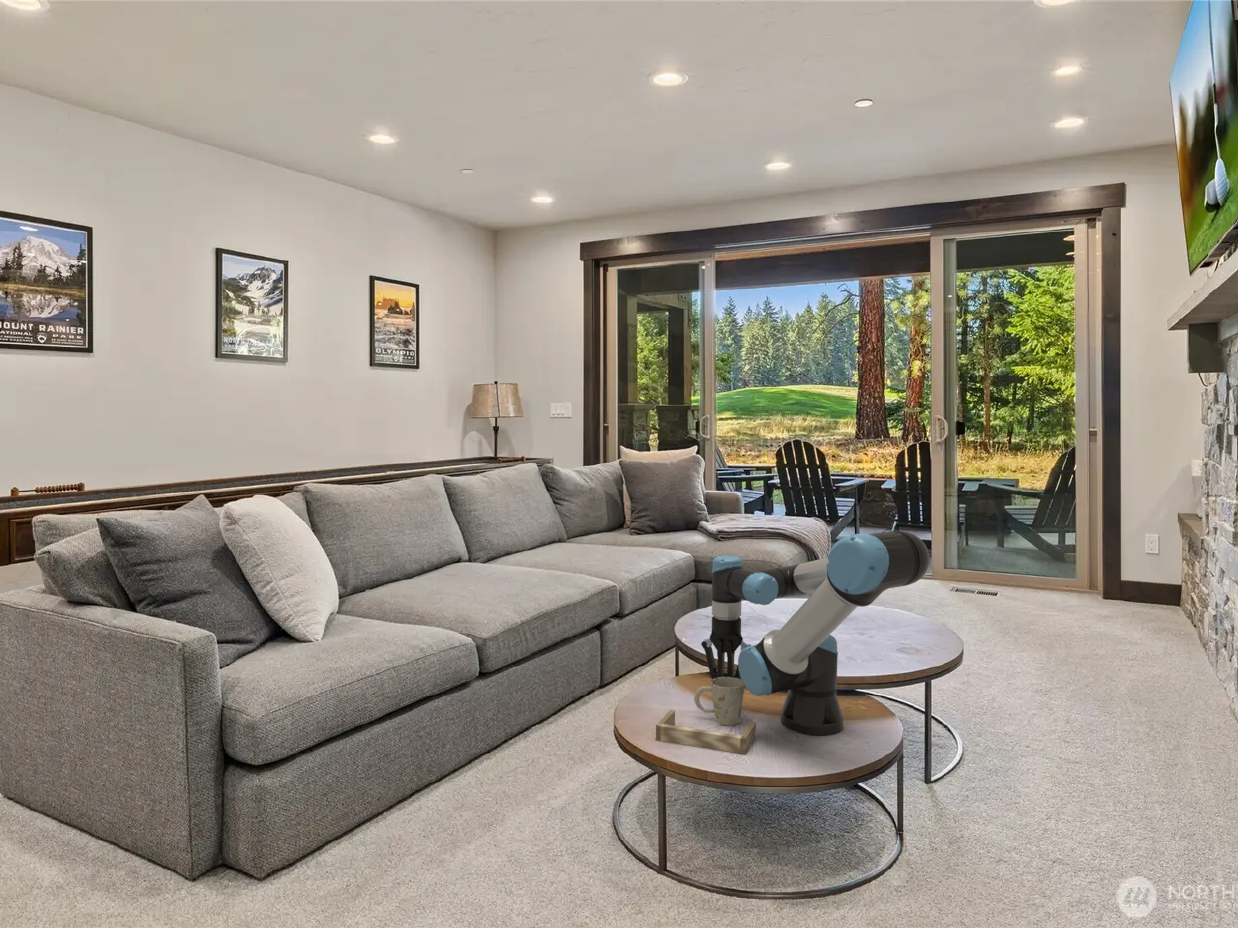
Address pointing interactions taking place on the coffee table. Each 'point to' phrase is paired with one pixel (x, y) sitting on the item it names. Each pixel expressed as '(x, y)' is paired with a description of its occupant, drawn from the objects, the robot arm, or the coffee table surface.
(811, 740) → the coffee table surface
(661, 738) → the bay
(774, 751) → the coffee table surface
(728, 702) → the mug
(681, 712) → the coffee table surface
